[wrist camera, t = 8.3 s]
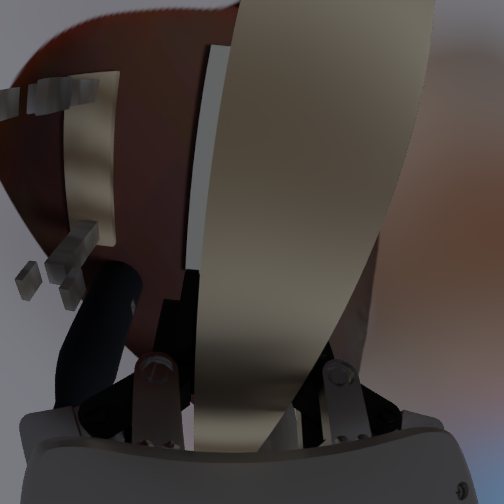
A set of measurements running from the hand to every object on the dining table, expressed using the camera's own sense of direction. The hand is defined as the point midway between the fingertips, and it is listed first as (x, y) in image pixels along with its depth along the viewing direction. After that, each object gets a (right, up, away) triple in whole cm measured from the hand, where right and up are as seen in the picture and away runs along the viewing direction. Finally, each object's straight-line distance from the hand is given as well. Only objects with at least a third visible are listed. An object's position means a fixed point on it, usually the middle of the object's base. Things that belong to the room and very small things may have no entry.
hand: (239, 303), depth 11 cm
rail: (0, -1, -1) cm, 1 cm away
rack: (-17, +12, +14) cm, 25 cm away
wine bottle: (-17, -2, +23) cm, 29 cm away
